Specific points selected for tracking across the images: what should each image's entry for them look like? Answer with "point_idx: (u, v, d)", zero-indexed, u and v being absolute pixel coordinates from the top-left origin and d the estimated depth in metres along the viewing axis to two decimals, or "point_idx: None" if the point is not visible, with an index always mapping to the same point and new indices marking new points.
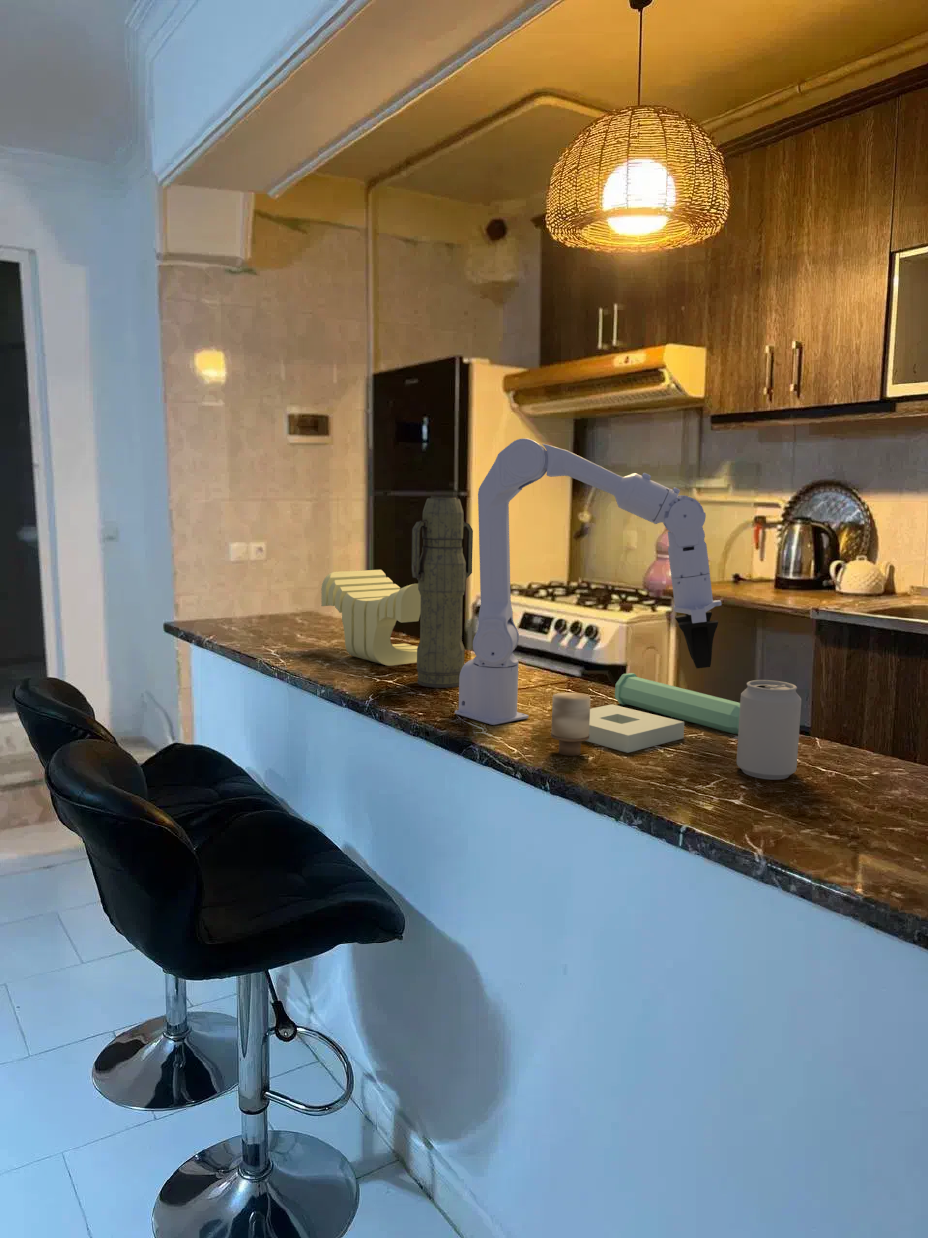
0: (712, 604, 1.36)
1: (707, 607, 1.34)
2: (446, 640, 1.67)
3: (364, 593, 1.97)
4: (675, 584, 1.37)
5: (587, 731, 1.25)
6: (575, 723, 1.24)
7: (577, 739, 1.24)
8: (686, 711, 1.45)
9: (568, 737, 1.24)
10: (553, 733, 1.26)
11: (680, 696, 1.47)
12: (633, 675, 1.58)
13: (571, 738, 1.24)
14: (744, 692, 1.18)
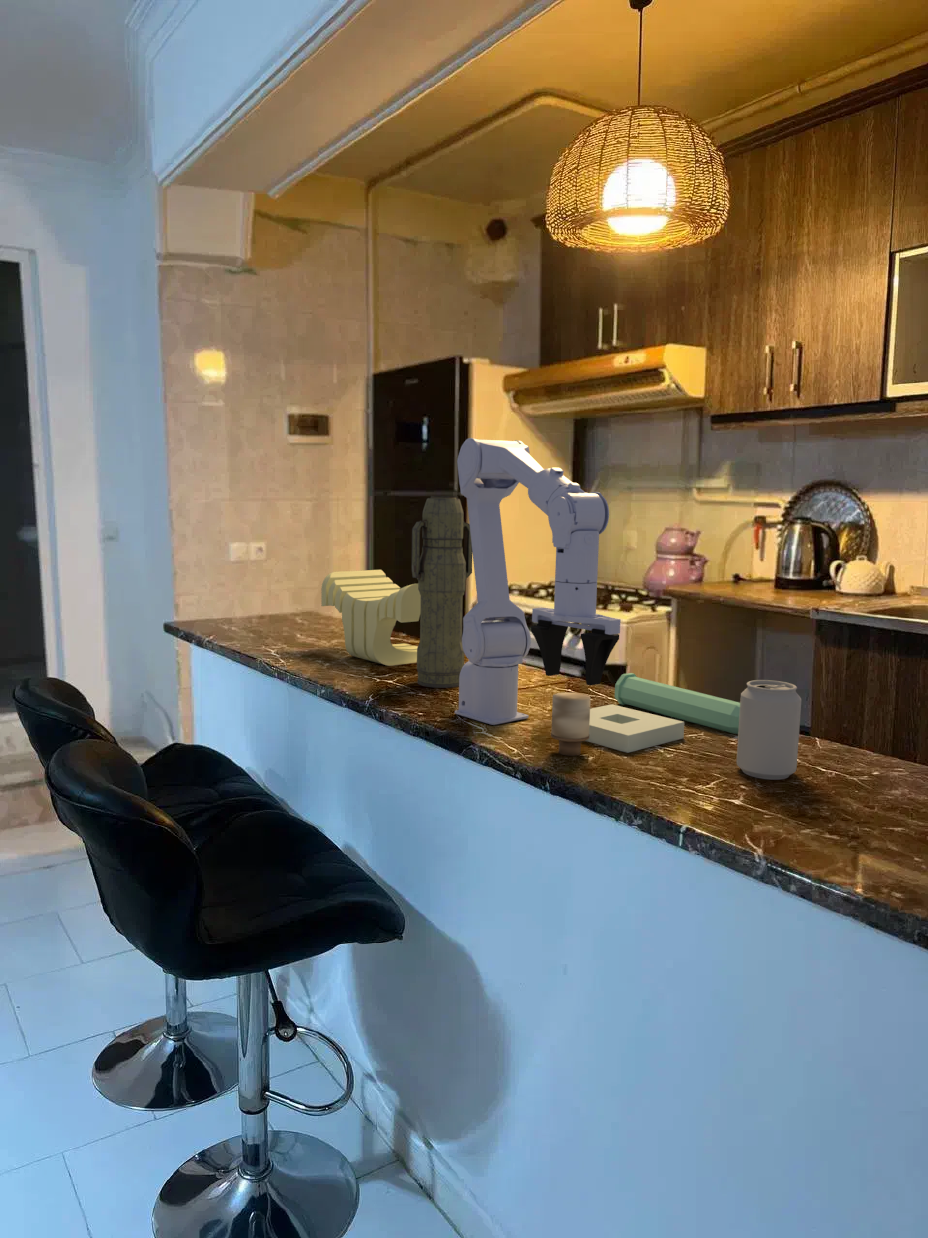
0: (551, 614, 1.24)
1: (542, 612, 1.27)
2: (446, 640, 1.67)
3: (364, 593, 1.97)
4: None
5: (587, 731, 1.25)
6: (575, 723, 1.24)
7: (577, 739, 1.24)
8: (686, 711, 1.45)
9: (568, 737, 1.24)
10: (553, 733, 1.26)
11: (680, 696, 1.47)
12: (633, 675, 1.58)
13: (571, 738, 1.24)
14: (744, 692, 1.18)
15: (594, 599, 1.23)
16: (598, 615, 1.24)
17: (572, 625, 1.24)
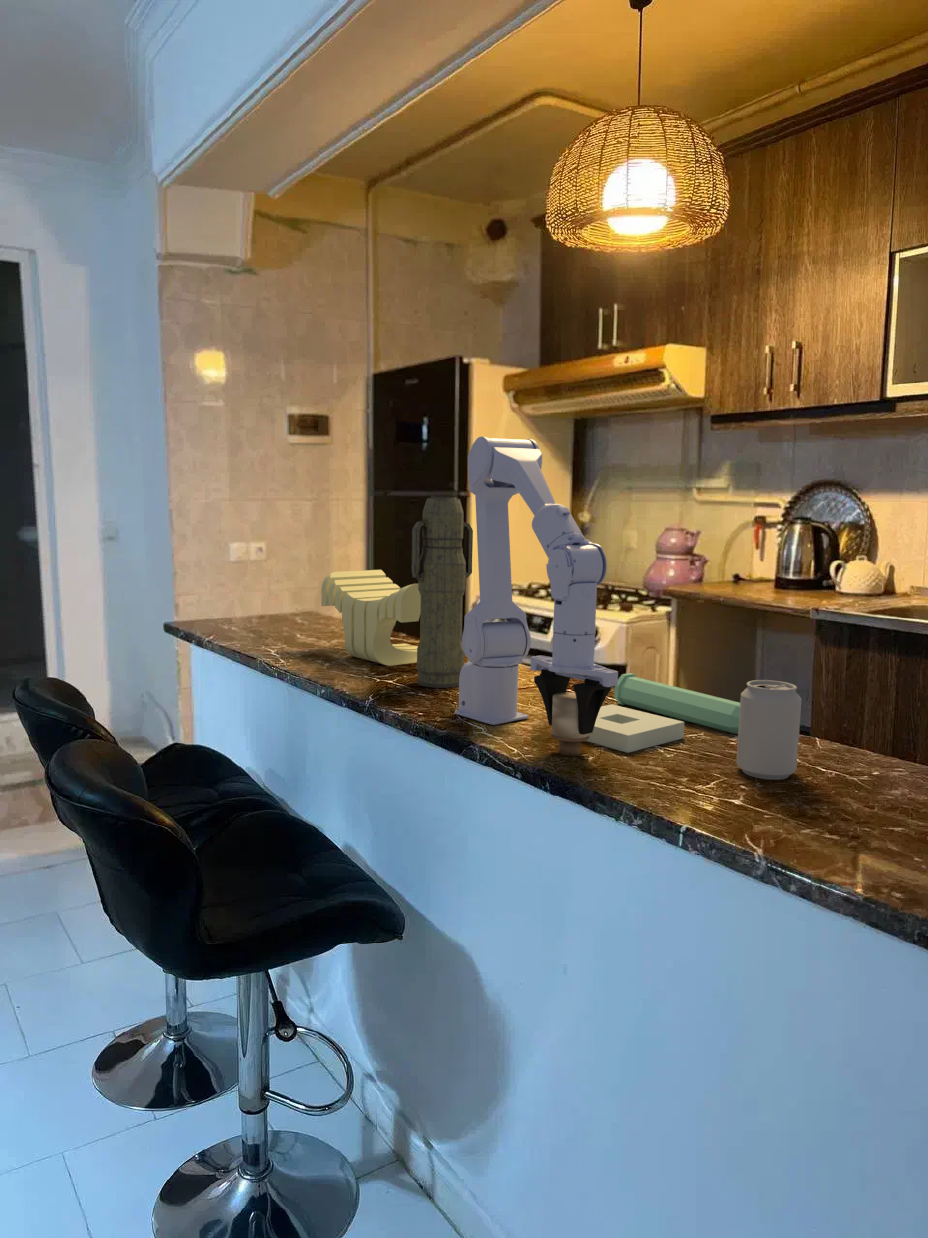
0: (550, 665, 1.25)
1: (541, 661, 1.28)
2: (446, 640, 1.67)
3: (364, 593, 1.97)
4: None
5: None
6: (575, 723, 1.24)
7: (577, 739, 1.24)
8: (686, 711, 1.45)
9: (568, 737, 1.24)
10: (553, 733, 1.26)
11: (681, 696, 1.47)
12: (632, 675, 1.58)
13: (571, 738, 1.24)
14: (744, 692, 1.18)
15: (592, 650, 1.24)
16: (596, 665, 1.25)
17: (570, 675, 1.25)
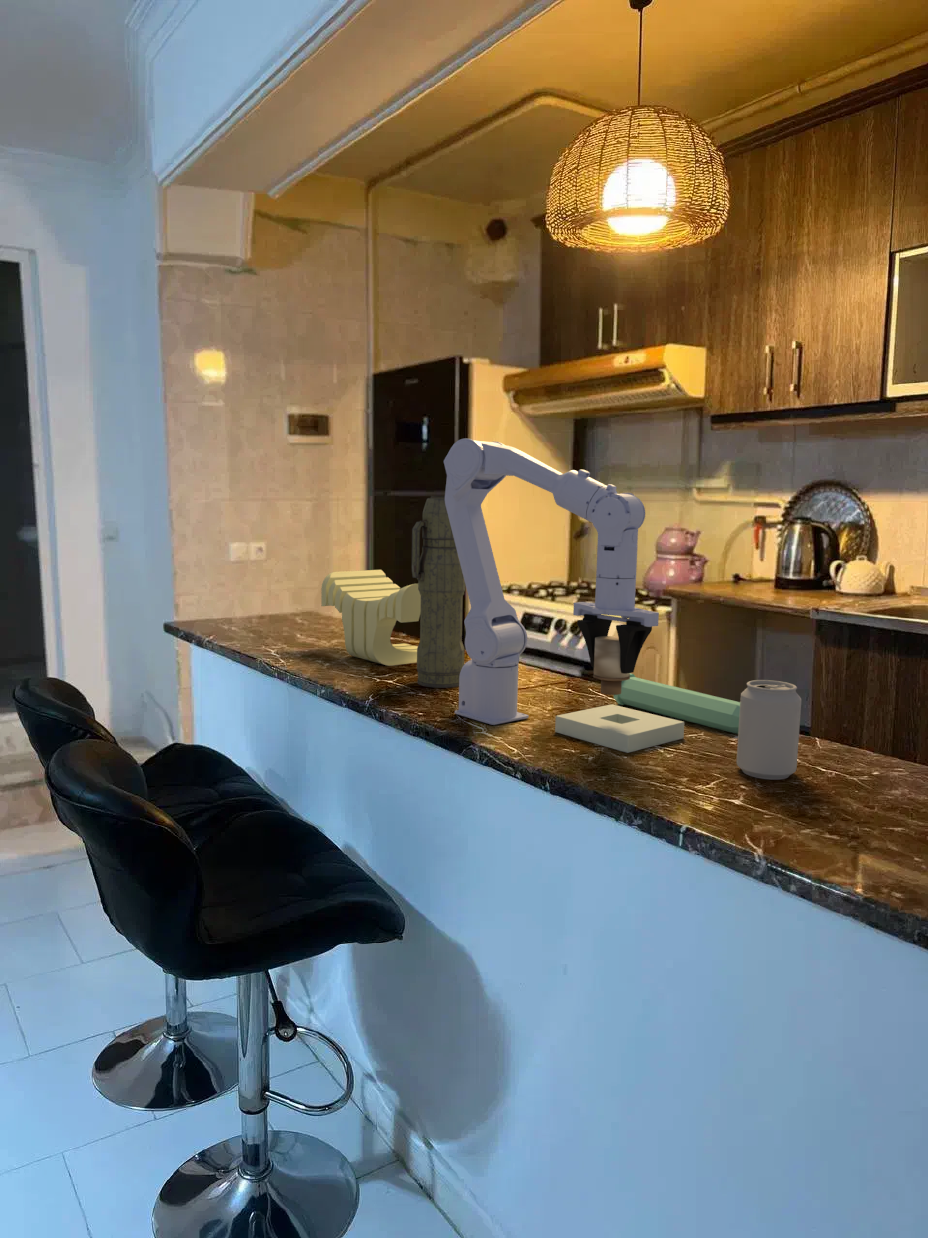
0: None
1: (583, 606, 1.35)
2: (446, 640, 1.67)
3: (364, 593, 1.97)
4: None
5: None
6: (617, 663, 1.31)
7: (618, 678, 1.31)
8: (687, 711, 1.45)
9: (611, 677, 1.31)
10: (595, 673, 1.33)
11: (681, 696, 1.47)
12: (631, 675, 1.57)
13: (613, 677, 1.31)
14: (744, 692, 1.18)
15: (633, 594, 1.30)
16: (637, 609, 1.32)
17: (612, 618, 1.32)
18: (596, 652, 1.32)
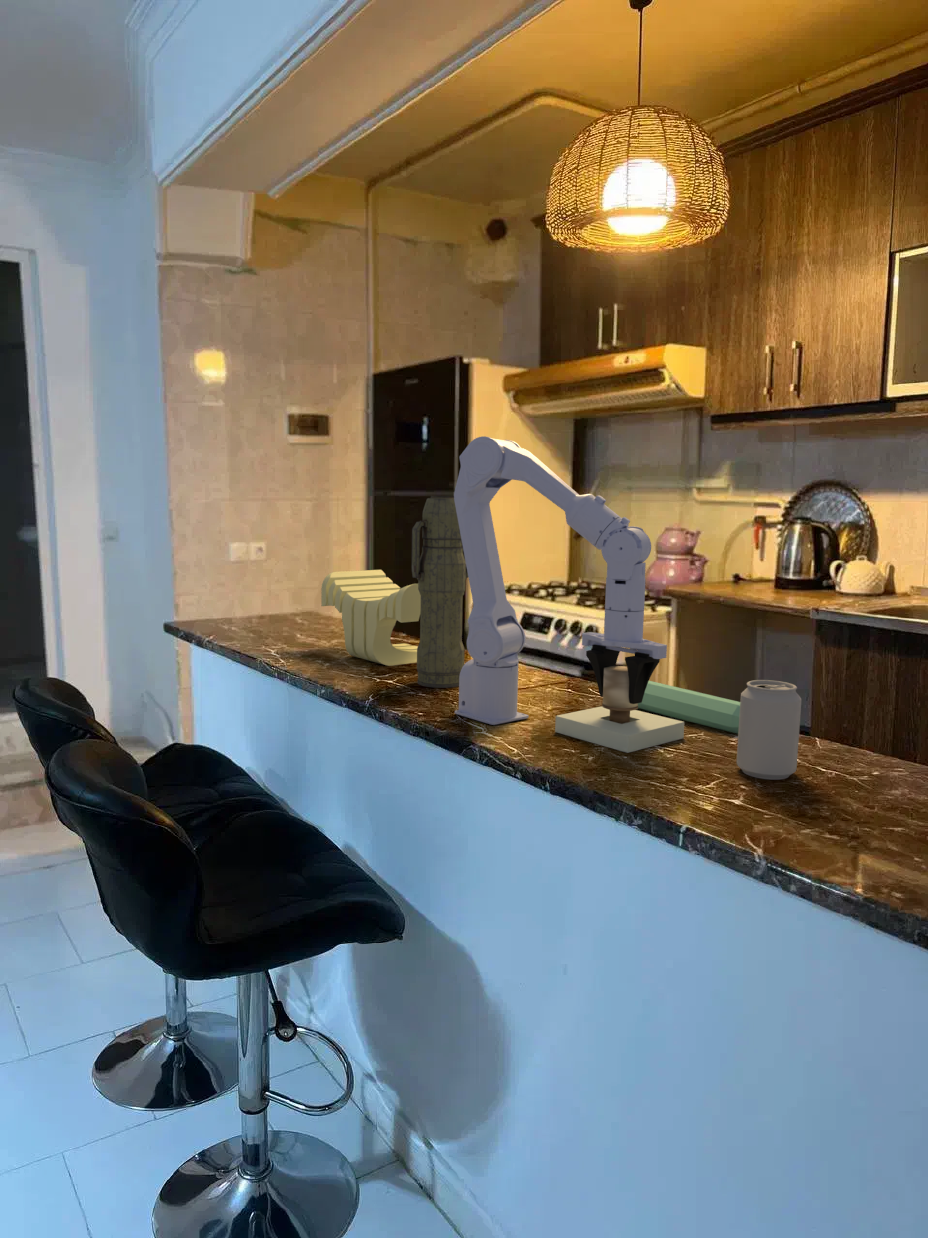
0: (602, 640, 1.35)
1: (592, 637, 1.37)
2: (446, 640, 1.67)
3: (364, 593, 1.97)
4: None
5: None
6: (626, 693, 1.33)
7: (627, 708, 1.34)
8: (687, 711, 1.45)
9: (620, 707, 1.34)
10: (605, 703, 1.35)
11: (681, 697, 1.47)
12: None
13: (622, 707, 1.34)
14: (744, 692, 1.18)
15: (641, 626, 1.33)
16: (645, 640, 1.34)
17: (621, 649, 1.35)
18: (605, 682, 1.35)
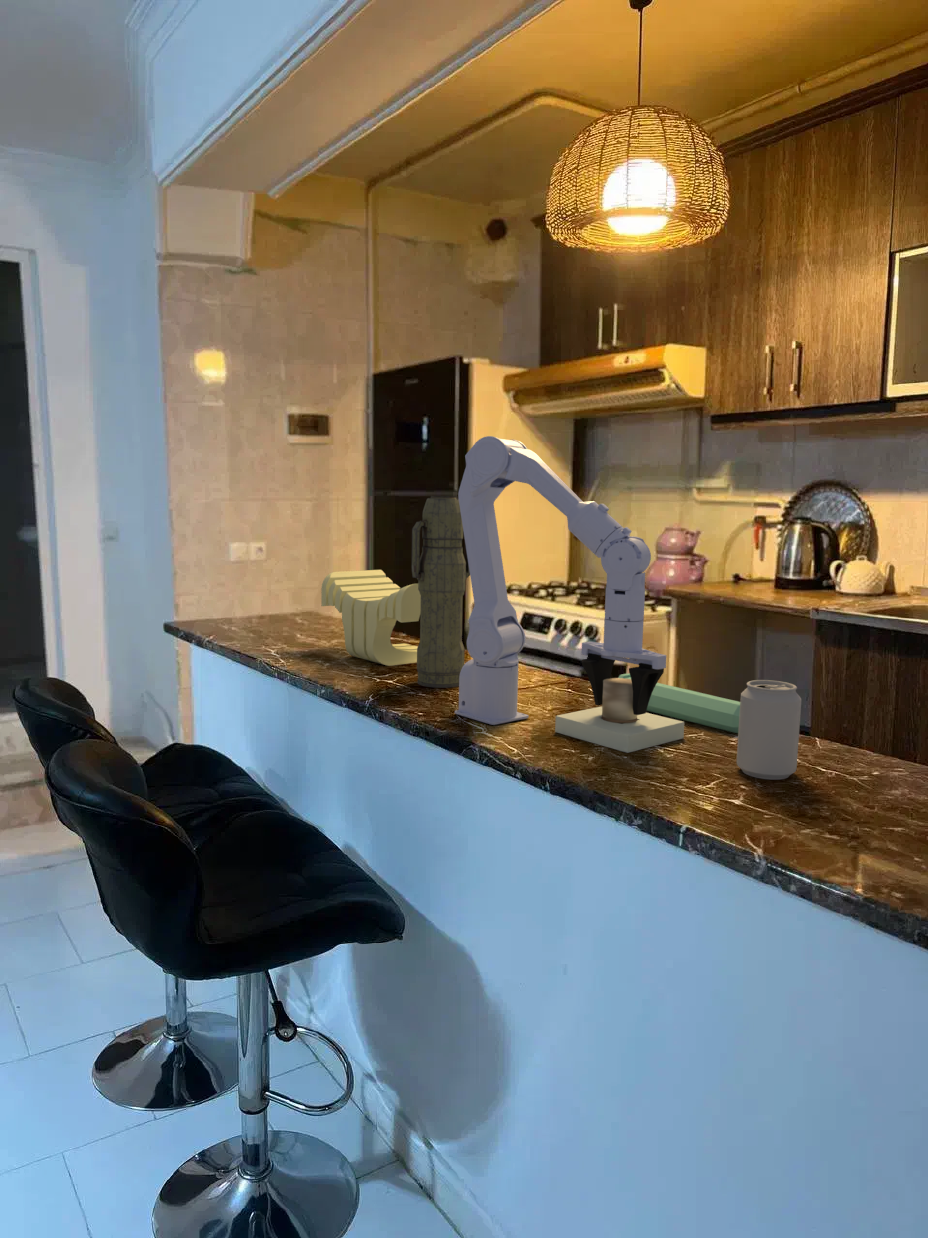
0: (601, 649, 1.35)
1: (592, 646, 1.38)
2: (446, 640, 1.67)
3: (364, 593, 1.97)
4: None
5: None
6: (625, 705, 1.34)
7: (626, 720, 1.34)
8: (687, 711, 1.45)
9: (619, 719, 1.34)
10: (604, 715, 1.36)
11: (681, 697, 1.47)
12: None
13: (621, 720, 1.34)
14: (744, 692, 1.18)
15: (641, 636, 1.33)
16: (644, 650, 1.35)
17: (620, 659, 1.35)
18: (604, 695, 1.35)
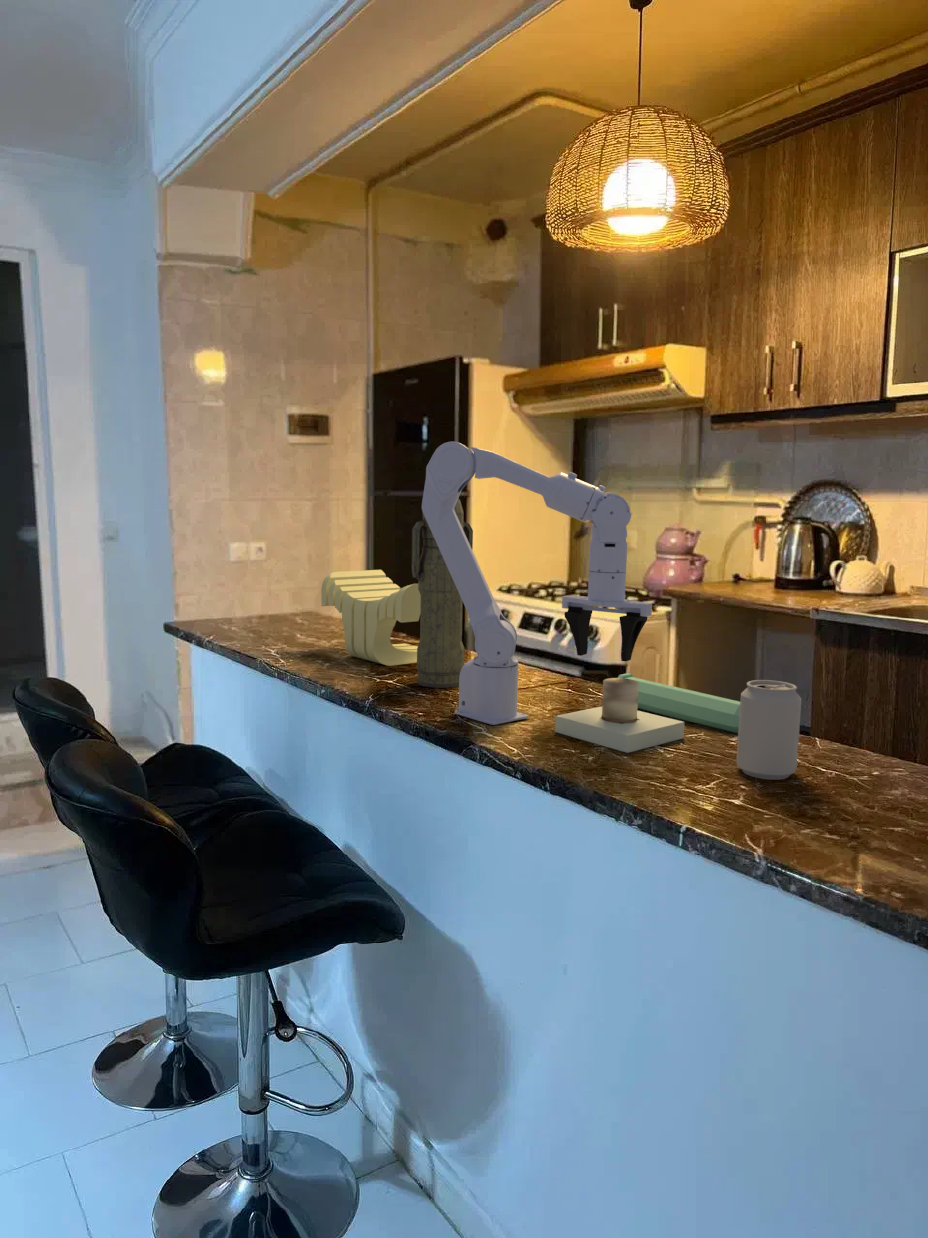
0: (587, 601, 1.41)
1: (575, 599, 1.43)
2: (446, 640, 1.67)
3: (364, 593, 1.97)
4: None
5: (636, 713, 1.35)
6: (625, 705, 1.34)
7: (626, 720, 1.34)
8: (688, 711, 1.45)
9: (619, 719, 1.34)
10: (604, 715, 1.36)
11: (681, 696, 1.46)
12: (630, 675, 1.57)
13: (621, 720, 1.34)
14: (744, 692, 1.18)
15: (624, 586, 1.41)
16: (626, 600, 1.42)
17: (604, 610, 1.42)
18: (604, 695, 1.35)
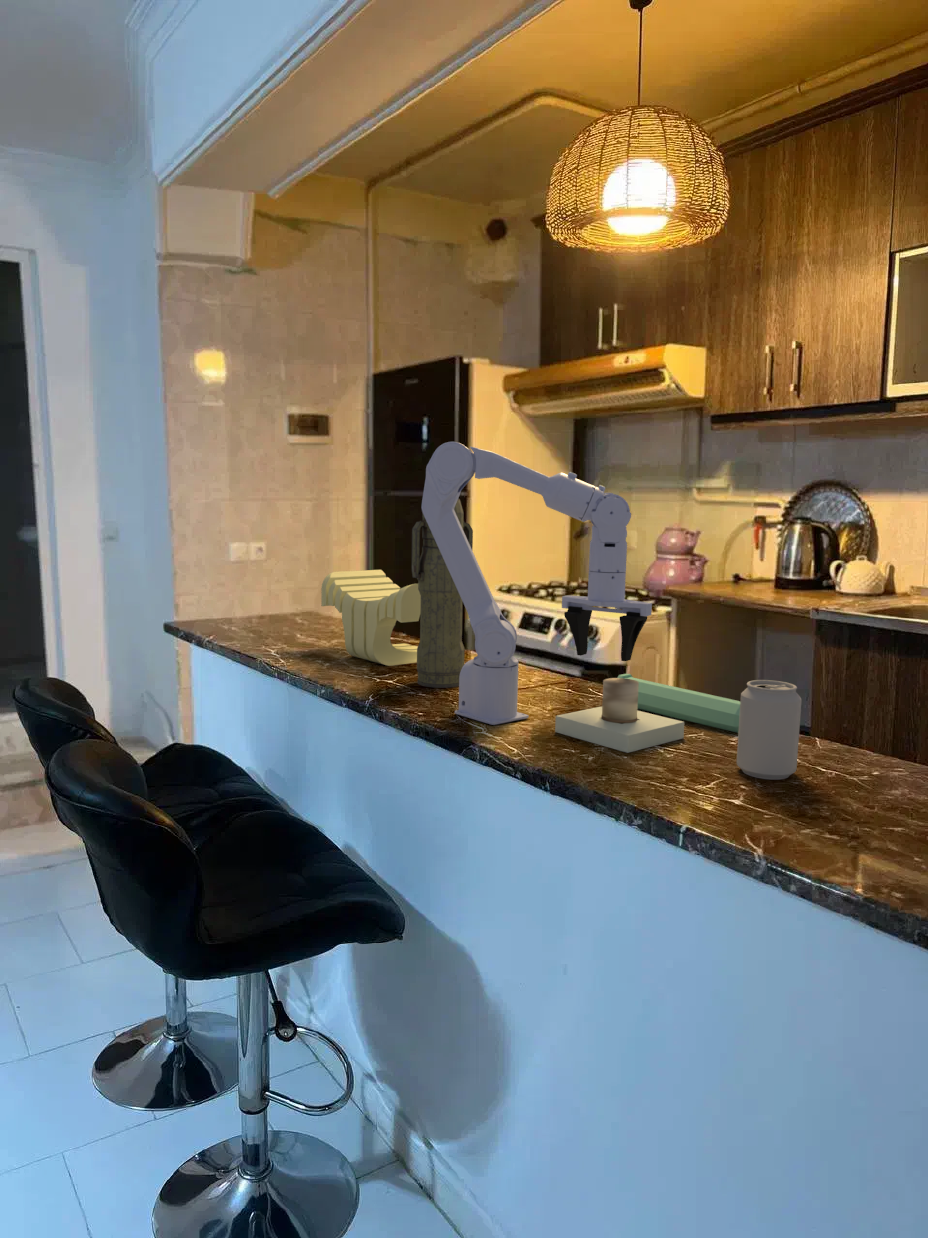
0: (587, 601, 1.41)
1: (575, 599, 1.43)
2: (446, 640, 1.67)
3: (364, 593, 1.96)
4: None
5: (636, 713, 1.35)
6: (625, 705, 1.34)
7: (626, 720, 1.34)
8: (688, 711, 1.45)
9: (619, 719, 1.34)
10: (604, 715, 1.36)
11: (682, 697, 1.46)
12: (629, 676, 1.57)
13: (621, 720, 1.34)
14: (744, 692, 1.18)
15: (624, 586, 1.41)
16: (626, 600, 1.42)
17: (604, 609, 1.42)
18: (604, 695, 1.35)
